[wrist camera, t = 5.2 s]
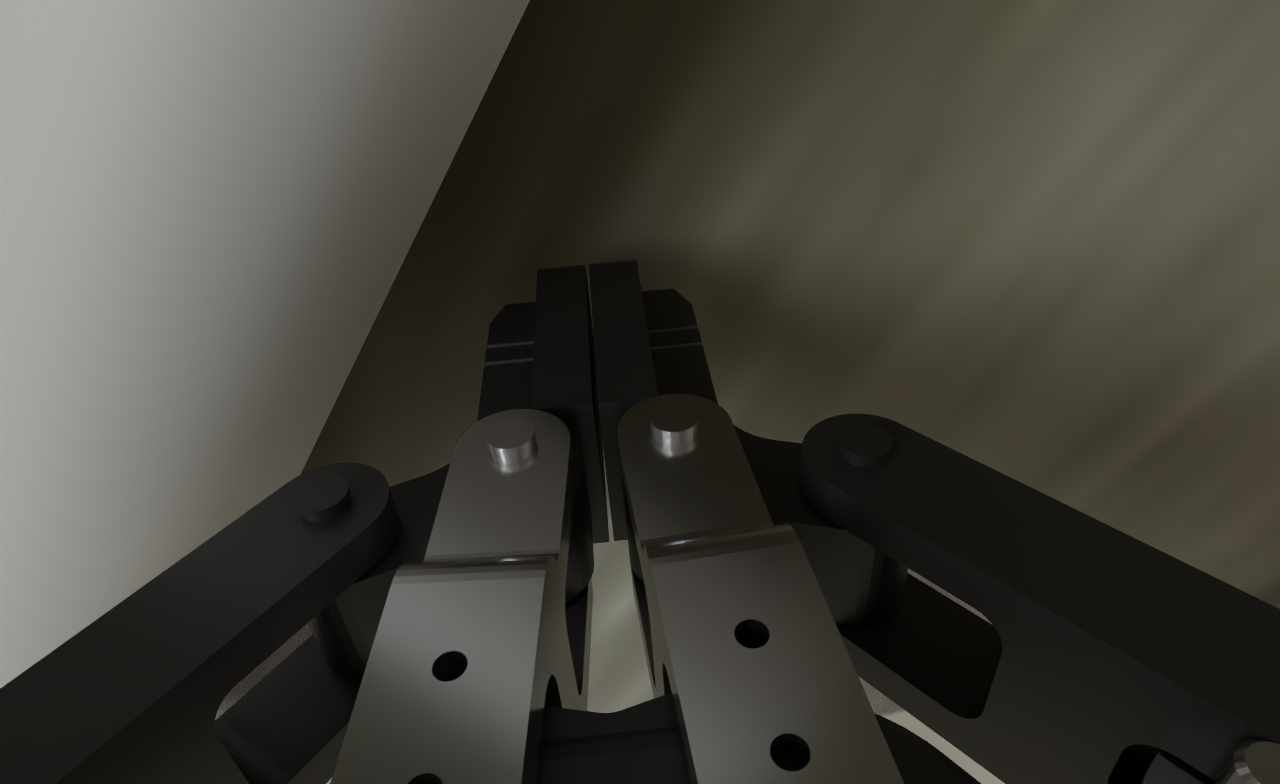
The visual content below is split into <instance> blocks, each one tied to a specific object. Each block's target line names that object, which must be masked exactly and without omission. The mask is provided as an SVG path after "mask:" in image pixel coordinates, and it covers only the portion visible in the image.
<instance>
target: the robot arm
mask: <svg viewBox="0 0 1280 784" xmlns="http://www.w3.org/2000/svg"><path fill="white" fill-rule="evenodd" d="M589 271H590V287H591V302H592V318H593V327H592V318H591V310H590V301H589V292H588V284H587V275H586V268H585V265H579V266H568V267H558V268H547V269H538V270H537V288H536V302H529V303H518V304H508V305H505V307H504V308H503V309H502V310H501V311H500V313H499V314H498V315H497V316H496V317H495V319H494V320H493V321H492V322H491V323H490V327H489V334H488V342H487V347H488V349H487V350H486V358H485V366H484V373H483V381H482V388H481V396H480V404H479V412H478V419H477V422H476V423H474V424H473V425H471V426H470V427H469V428H467V429H466V430H465V431H464V433H463V434H462V435H461V436H460V438H459V439H458V441H457V443H456V445H455V448H454V452H453V455H452V459H451V463H449V464H447V465H446V466H444V467H443V468H440V469H438V470H436V471H434V472H432V473H430V474H427V475H424V476H422V477H419V478H416V479H412V480H409V481H406V482H403V483H400V484H397V485H394V486H391V487H389V485H388V482H387V480H386V479H385V477H384V476H383V475H382V474H381V473H380V472H379V471H378V470H376V469H374V468H372V467H370V466H367V465H363V464H358V463H337V464H331V465H326V466H323V467H319V468H316V469H313V470H310V471H308V472H305V473H303V474H301V475H299V476H297V477H296V478H294V479H292V480H291V481H289V482H288V483H286V484H285V485H283V486H282V487H281V488H279V489H278V490H276V491H275V492H274V493H272V494H271V495H270V496H268V497H267V498H265V499H264V500H263V501H261V502H260V503H258V504H257V505H256V506H254V507H253V508H251V509H250V510H249V511H247V512H246V513H244V514H243V515H242V516H240V517H239V518H237V519H236V520H235V521H233V522H232V523H230V524H229V525H228V526H226V527H225V528H223V529H222V530H221V531H219V532H218V533H217V534H215V535H214V536H212V537H211V538H210V539H208V540H207V541H205V542H204V543H203V544H201V545H200V546H198V547H197V548H196V549H194V550H193V551H191V552H190V553H189V554H187V555H186V556H184V557H183V558H182V559H180V560H179V561H177V562H176V563H175V564H173V565H172V566H170V567H169V568H168V569H166V570H165V571H164V572H162V573H161V574H159V575H158V576H157V577H155V578H154V579H152V580H151V581H150V582H148V583H147V584H145V585H144V586H143V587H141V588H140V589H138V590H137V591H136V592H134V593H133V594H131V595H130V596H129V597H127V598H126V599H124V600H123V601H122V602H120V603H119V604H117V605H116V606H115V607H113V608H112V609H111V610H109V611H108V612H106V613H105V614H104V615H102V616H101V617H99V618H98V619H97V620H95V621H94V622H92V623H91V624H90V625H88V626H87V627H85V628H84V629H83V630H81V631H80V632H78V633H77V634H76V635H74V636H73V637H71V638H70V639H69V640H67V641H66V642H65V643H63V644H62V645H60V646H59V647H58V648H56V649H55V650H53V651H52V652H51V653H49V654H48V655H46V656H45V657H44V658H42V659H41V660H39V661H38V662H37V663H35V664H34V665H32V666H31V667H30V668H28V669H27V670H25V671H24V672H23V673H21V674H20V675H18V676H17V677H16V678H14V679H13V680H12V681H10V682H9V683H7V684H6V685H5V686H3V687H2V688H0V784H326V783H327V782H328V781H329V780H330V779H331V778H332V780H331V783H330V784H981V783H980V782H978V781H977V780H976V779H975V778H973V777H972V776H971V775H969V774H968V773H967V772H966V771H964V770H963V769H962V768H961V767H959V766H958V765H957V764H956V763H954V762H953V761H952V760H950V759H949V758H948V757H947V756H945V755H944V754H943V753H942V752H940V751H939V750H938V749H936V748H935V747H934V746H932V745H931V744H929V743H928V742H927V741H925V740H924V739H922V738H920V737H919V736H917V735H915V734H914V733H912V732H911V731H909V730H908V729H906V728H904V727H902V726H900V725H898V724H896V723H894V722H892V721H890V720H888V719H886V718H884V717H882V716H880V715H877V714H874V712H873V710H872V707H871V705H870V703H869V700H868V698H867V696H866V693H865V691H864V689H863V686H862V684H861V682H860V679H859V677H861V678H862V679H863V680H865V681H866V682H867V683H869V684H870V685H872V686H873V687H874V688H876V689H877V690H878V691H880V692H881V693H882V694H884V695H885V696H887V697H888V698H889V699H891V700H892V701H893V702H895V703H896V704H897V705H899V706H900V707H902V708H903V709H904V710H906V711H907V712H908V713H910V714H911V715H913V716H914V717H915V718H917V719H918V720H919V721H921V722H922V723H923V724H925V725H926V726H927V727H929V728H930V729H932V730H933V731H934V732H936V733H937V734H938V735H940V736H941V737H943V738H944V739H945V740H947V741H948V742H950V743H951V744H952V745H954V746H955V747H956V748H958V749H959V750H960V751H962V752H963V753H964V754H966V755H967V756H969V757H970V758H971V759H973V760H974V761H975V762H977V763H978V764H979V765H981V766H982V767H984V768H985V769H986V770H988V771H989V772H990V773H992V774H993V775H994V776H996V777H997V778H998V779H1000V780H1001V781H1003V782H1004V783H1005V784H1280V609H1278V608H1276V607H1274V606H1272V605H1270V604H1268V603H1266V602H1264V601H1262V600H1260V599H1258V598H1256V597H1254V596H1252V595H1250V594H1248V593H1245V592H1243V591H1241V590H1239V589H1237V588H1235V587H1233V586H1231V585H1229V584H1227V583H1225V582H1223V581H1221V580H1219V579H1217V578H1215V577H1213V576H1211V575H1209V574H1207V573H1205V572H1202V571H1200V570H1198V569H1196V568H1194V567H1192V566H1190V565H1188V564H1186V563H1184V562H1182V561H1180V560H1178V559H1176V558H1174V557H1172V556H1170V555H1168V554H1166V553H1164V552H1162V551H1160V550H1157V549H1155V548H1153V547H1151V546H1149V545H1147V544H1145V543H1143V542H1141V541H1139V540H1137V539H1135V538H1133V537H1131V536H1129V535H1127V534H1125V533H1123V532H1121V531H1119V530H1117V529H1115V528H1112V527H1110V526H1108V525H1106V524H1104V523H1102V522H1100V521H1098V520H1096V519H1094V518H1092V517H1090V516H1088V515H1086V514H1084V513H1082V512H1080V511H1078V510H1076V509H1074V508H1072V507H1070V506H1067V505H1065V504H1063V503H1061V502H1059V501H1057V500H1055V499H1053V498H1051V497H1049V496H1047V495H1045V494H1043V493H1041V492H1039V491H1037V490H1035V489H1033V488H1031V487H1029V486H1027V485H1025V484H1022V483H1020V482H1018V481H1016V480H1014V479H1012V478H1010V477H1008V476H1006V475H1004V474H1002V473H1000V472H998V471H996V470H994V469H992V468H990V467H988V466H986V465H984V464H982V463H979V462H977V461H975V460H973V459H971V458H969V457H967V456H965V455H963V454H961V453H959V452H957V451H955V450H953V449H951V448H949V447H947V446H945V445H943V444H941V443H939V442H937V441H934V440H932V439H930V438H928V437H926V436H924V435H922V434H920V433H918V432H916V431H914V430H912V429H910V428H908V427H906V426H904V425H902V424H900V423H897V422H895V421H893V420H890V419H887V418H884V417H880V416H875V415H869V414H845V415H838V416H834V417H830V418H828V419H825V420H823V421H821V422H819V423H818V424H816V425H815V426H813V427H812V428H811V429H810V430H809V431H808V433H807V434H806V435H805V437H804V440H803V443H802V444H801V443H793V442H785V441H777V440H771V439H765V438H761V437H758V436H754V435H752V434H749V433H747V432H745V431H743V430H741V429H739V428H737V427H736V426H735V425H733V423H732V420H731V418H730V416H729V415H728V413H727V412H726V411H725V410H724V409H723V408H722V407H721V406H719V405H718V403H717V399H716V395H715V391H714V388H713V384H712V380H711V376H710V372H709V368H708V365H707V361H706V357H705V353H704V349H703V345H702V344H701V338H700V334H699V330H698V328H697V322H696V319H695V315H694V311H693V307H692V304H691V303H689V302H688V301H687V300H686V299H685V298H684V297H683V296H682V295H680V294H679V293H678V292H677V291H676V290H675V289H664V290H653V291H643V292H641V286H640V280H639V274H638V268H637V262H636V260H631V261H620V262H609V263H599V264H589ZM593 333H594V336H593ZM602 441H603V442H602ZM603 450H604V457H603ZM604 458H605V467H606V475H607V484H608V492H609V501H610V509H611V518H612V526H613V535H614V541H618V540H628V545H629V555H630V563H631V573H632V583H633V592H634V597H635V602H636V607H637V612H638V618H639V623H640V628H641V633H642V639H643V644H644V649H645V654H646V660H647V665H648V670H649V675H650V680H651V686H652V691H653V696H654V699H652V700H649V701H646V702H644V703H641V704H638V705H635V706H632V707H630V708H627V709H624V710H621V711H618V712H613V713H596V712H589V711H587V701H588V681H589V662H590V643H591V624H592V604H593V587H592V581H591V577H592V574H593V570H594V553H593V543H602V542H609V531H608V516H607V501H606V486H605V472H604ZM908 568H909V569H911V570H912V571H914V572H916V573H917V574H919V575H921V576H922V577H924V578H926V579H927V580H929V581H931V582H932V583H934V584H935V585H937V586H939V587H940V588H942V589H944V590H945V591H947V592H949V593H950V594H952V595H954V596H955V597H957V598H958V599H960V600H962V601H963V602H965V603H967V604H968V605H970V606H972V607H973V608H975V609H976V610H978V611H979V612H981V613H982V614H983V615H984V616H985V617H986V618H987V619H988V620H989V621H990V622H991V623H992V624H993V625H992V624H990V623H988V622H987V621H985V620H984V619H982V618H980V617H979V616H977V615H975V614H974V613H972V612H970V611H969V610H967V609H966V608H964V607H962V606H961V605H959V604H957V603H956V602H954V601H953V600H951V599H949V598H948V597H946V596H944V595H943V594H941V593H940V592H938V591H936V590H935V589H933V588H931V587H930V586H928V585H926V584H925V583H923V582H922V581H920V580H918V579H917V578H915V577H913V576H912V575H910V574H909V573H907V572H908ZM307 623H308V624H309V627H310V629H311V631H312V633H313V635H312V636H311V637H310V638H308V639H307V640H306V641H305V642H304V643H303V644H302V645H300V646H299V647H298V648H297V649H296V650H295V651H294V652H293V653H291V654H290V655H289V656H288V657H287V658H286V659H285V660H283V661H282V662H281V663H280V664H279V665H278V666H277V667H276V668H274V669H273V670H272V671H271V672H270V673H269V674H268V675H267V676H265V677H264V678H263V679H262V680H261V681H260V682H259V683H257V684H256V685H255V686H254V687H253V688H252V689H251V690H250V691H248V692H247V693H246V694H245V695H244V696H243V697H242V698H240V699H239V700H238V701H237V702H236V703H235V704H234V705H233V706H231V707H230V708H229V709H228V710H227V711H226V712H225V713H223V714H222V715H221V716H220V717H219V718H218V719H217V720H215V717H216V713H217V711H218V708H219V706H220V704H221V702H222V701H223V699H224V698H225V696H226V695H227V694H228V693H229V692H230V690H231V689H232V688H233V687H234V686H235V685H236V684H238V683H239V682H240V681H241V680H242V679H243V678H245V677H246V676H247V675H248V674H249V673H250V672H251V671H253V670H254V669H255V668H256V667H257V666H258V665H260V664H261V663H262V662H263V661H264V660H265V659H266V658H268V657H269V656H270V655H271V654H272V653H273V652H274V651H276V650H277V649H278V648H279V647H280V646H281V645H283V644H284V643H285V642H286V641H287V640H288V639H289V638H291V637H292V636H293V635H294V634H295V633H296V632H298V631H299V630H300V629H301V628H302V627H303V626H304V625H306V624H307ZM858 676H859V677H858Z"/></svg>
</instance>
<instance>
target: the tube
mask: <svg viewBox="0 0 1280 784" xmlns="http://www.w3.org/2000/svg"><path fill="white" fill-rule="evenodd" d="M529 1H530V0H0V688H2V687H3V686H5V685H6V684H7V683H9V682H10V681H12V680H13V679H14V678H16V677H17V676H18V675H20V674H21V673H23V672H24V671H25V670H27V669H28V668H30V667H31V666H32V665H34V664H35V663H37V662H38V661H39V660H41V659H42V658H44V657H45V656H46V655H48V654H49V653H51V652H52V651H53V650H55V649H56V648H58V647H59V646H60V645H62V644H63V643H65V642H66V641H67V640H69V639H70V638H71V637H73V636H74V635H76V634H77V633H78V632H80V631H81V630H83V629H84V628H85V627H87V626H88V625H90V624H91V623H92V622H94V621H95V620H97V619H98V618H99V617H101V616H102V615H104V614H105V613H106V612H108V611H109V610H111V609H112V608H113V607H115V606H116V605H117V604H119V603H120V602H122V601H123V600H124V599H126V598H127V597H129V596H130V595H131V594H133V593H134V592H136V591H137V590H138V589H140V588H141V587H143V586H144V585H145V584H147V583H148V582H150V581H151V580H152V579H154V578H155V577H157V576H158V575H159V574H161V573H162V572H164V571H165V570H166V569H168V568H169V567H170V566H172V565H173V564H175V563H176V562H177V561H179V560H180V559H182V558H183V557H184V556H186V555H187V554H189V553H190V552H191V551H193V550H194V549H196V548H197V547H198V546H200V545H201V544H203V543H204V542H205V541H207V540H208V539H210V538H211V537H212V536H214V535H215V534H217V533H218V532H219V531H221V530H222V529H223V528H225V527H226V526H228V525H229V524H230V523H232V522H233V521H235V520H236V519H237V518H239V517H240V516H242V515H243V514H244V513H246V512H247V511H249V510H250V509H251V508H253V507H254V506H256V505H257V504H258V503H260V502H261V501H263V500H264V499H265V498H267V497H268V496H270V495H271V494H272V493H274V492H275V491H276V490H278V489H279V488H281V487H282V486H283V485H285V484H286V483H288V482H289V481H291V480H292V479H294V478H296V477H297V476H299V475H300V474H301V472H302V470H303V468H304V466H305V464H306V462H307V460H308V458H309V456H310V454H311V452H312V450H313V447H314V445H315V443H316V441H317V439H318V437H319V435H320V433H321V431H322V429H323V427H324V425H325V423H326V421H327V419H328V416H329V414H330V412H331V410H332V408H333V406H334V404H335V402H336V400H337V398H338V396H339V394H340V392H341V390H342V388H343V386H344V383H345V381H346V379H347V377H348V375H349V373H350V371H351V369H352V367H353V365H354V363H355V361H356V359H357V357H358V355H359V352H360V350H361V348H362V346H363V344H364V342H365V340H366V338H367V336H368V334H369V332H370V330H371V328H372V326H373V324H374V321H375V319H376V317H377V315H378V313H379V311H380V309H381V307H382V305H383V303H384V301H385V299H386V297H387V295H388V293H389V290H390V288H391V286H392V284H393V282H394V280H395V278H396V276H397V274H398V272H399V270H400V268H401V266H402V264H403V262H404V259H405V257H406V255H407V253H408V251H409V249H410V247H411V245H412V243H413V241H414V239H415V237H416V235H417V233H418V231H419V228H420V226H421V224H422V222H423V220H424V218H425V216H426V214H427V212H428V210H429V208H430V206H431V204H432V202H433V200H434V197H435V195H436V193H437V191H438V189H439V187H440V185H441V183H442V181H443V179H444V177H445V175H446V173H447V171H448V169H449V166H450V164H451V162H452V160H453V158H454V156H455V154H456V152H457V150H458V148H459V146H460V144H461V142H462V140H463V138H464V136H465V133H466V131H467V129H468V127H469V125H470V123H471V121H472V119H473V117H474V115H475V113H476V111H477V109H478V107H479V105H480V102H481V100H482V98H483V96H484V94H485V92H486V90H487V88H488V86H489V84H490V82H491V80H492V78H493V76H494V74H495V71H496V69H497V67H498V65H499V63H500V61H501V59H502V57H503V55H504V53H505V51H506V49H507V47H508V45H509V43H510V40H511V38H512V36H513V34H514V32H515V30H516V28H517V26H518V24H519V22H520V20H521V18H522V16H523V14H524V12H525V9H526V7H527V5H528V3H529Z"/></svg>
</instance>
